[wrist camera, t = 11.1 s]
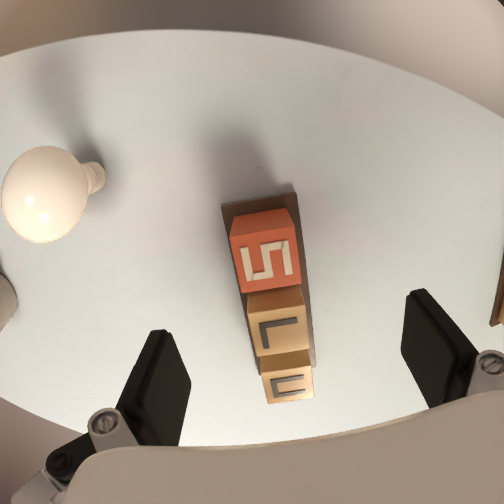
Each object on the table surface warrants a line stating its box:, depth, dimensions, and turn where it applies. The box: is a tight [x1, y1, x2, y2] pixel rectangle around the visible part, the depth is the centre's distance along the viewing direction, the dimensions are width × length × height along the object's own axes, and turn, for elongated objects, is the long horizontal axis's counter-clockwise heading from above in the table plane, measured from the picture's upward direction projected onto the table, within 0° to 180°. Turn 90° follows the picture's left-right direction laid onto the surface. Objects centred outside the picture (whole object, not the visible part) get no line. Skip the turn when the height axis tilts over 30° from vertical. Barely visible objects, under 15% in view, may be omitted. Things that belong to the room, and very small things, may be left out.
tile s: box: [229, 208, 302, 293], centre depth 23 cm, size 4×4×5 cm
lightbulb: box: [1, 146, 105, 243], centre depth 18 cm, size 6×6×11 cm
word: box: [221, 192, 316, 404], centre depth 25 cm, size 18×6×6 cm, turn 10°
